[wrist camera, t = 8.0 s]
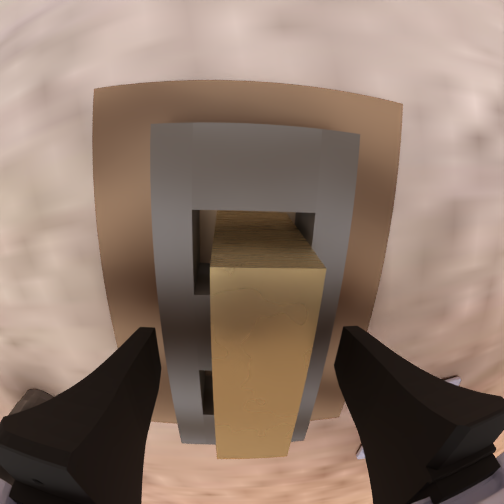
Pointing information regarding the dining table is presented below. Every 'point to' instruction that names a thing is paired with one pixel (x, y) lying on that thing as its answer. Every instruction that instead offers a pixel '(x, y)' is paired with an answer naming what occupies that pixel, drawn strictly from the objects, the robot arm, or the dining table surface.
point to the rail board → (237, 199)
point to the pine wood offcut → (260, 330)
